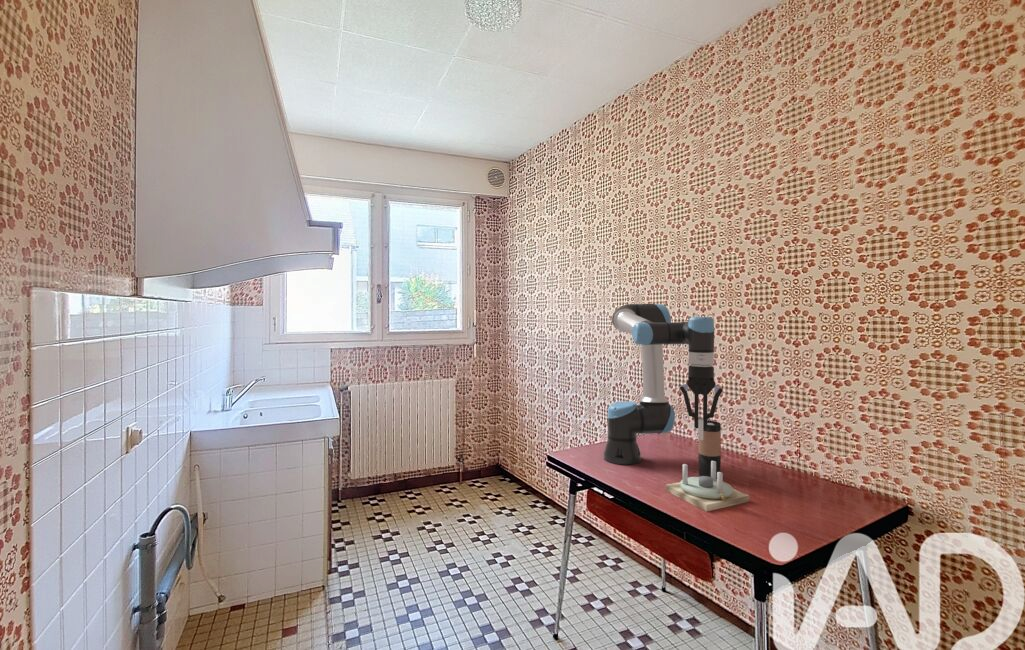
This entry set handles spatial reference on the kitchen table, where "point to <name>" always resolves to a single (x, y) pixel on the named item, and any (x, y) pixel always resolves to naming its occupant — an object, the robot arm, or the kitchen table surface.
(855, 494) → the kitchen table surface
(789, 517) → the kitchen table surface
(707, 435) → the travel mug
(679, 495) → the stand base
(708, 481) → the green peg holder
